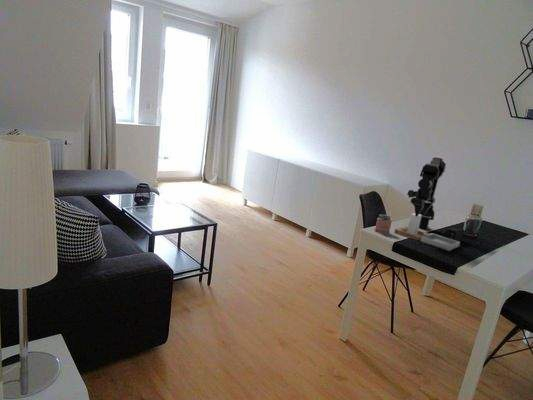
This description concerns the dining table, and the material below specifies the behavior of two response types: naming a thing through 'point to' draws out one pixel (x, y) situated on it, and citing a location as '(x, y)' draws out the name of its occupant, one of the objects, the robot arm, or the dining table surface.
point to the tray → (440, 242)
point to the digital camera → (454, 233)
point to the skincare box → (414, 224)
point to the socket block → (403, 229)
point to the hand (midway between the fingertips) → (419, 215)
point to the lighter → (383, 224)
